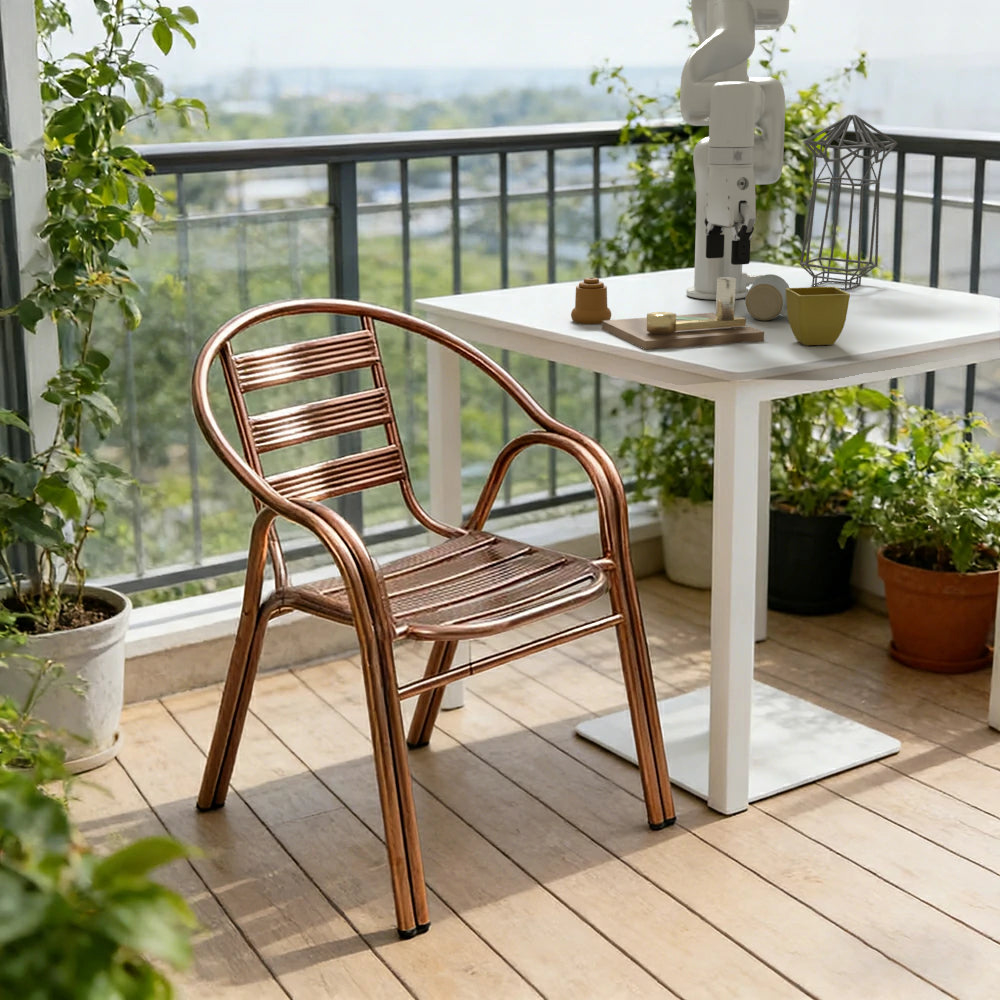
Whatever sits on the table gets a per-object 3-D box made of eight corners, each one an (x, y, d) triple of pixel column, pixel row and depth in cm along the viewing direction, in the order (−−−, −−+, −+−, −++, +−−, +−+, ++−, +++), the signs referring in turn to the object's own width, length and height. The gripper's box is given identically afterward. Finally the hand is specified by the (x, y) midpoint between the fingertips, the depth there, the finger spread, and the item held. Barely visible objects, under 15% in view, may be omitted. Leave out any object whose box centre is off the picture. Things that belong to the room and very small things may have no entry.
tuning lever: (653, 334, 240) (654, 286, 237) (642, 329, 244) (642, 281, 242) (749, 327, 245) (751, 279, 242) (736, 322, 249) (738, 275, 247)
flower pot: (782, 339, 245) (784, 287, 242) (831, 337, 246) (834, 285, 243) (796, 349, 237) (799, 295, 234) (847, 347, 237) (851, 294, 234)
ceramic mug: (742, 321, 261) (744, 279, 259) (749, 313, 269) (751, 273, 266) (800, 324, 258) (803, 282, 256) (806, 317, 265) (809, 276, 263)
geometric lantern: (817, 278, 308) (831, 112, 297) (887, 286, 299) (903, 115, 289) (786, 287, 296) (799, 114, 285) (858, 295, 287) (874, 117, 276)
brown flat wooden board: (712, 320, 262) (713, 312, 261) (763, 340, 244) (764, 331, 243) (601, 328, 256) (601, 320, 255) (645, 349, 237) (645, 340, 237)
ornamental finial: (588, 326, 258) (562, 321, 264) (619, 321, 262) (593, 316, 268) (588, 283, 256) (562, 278, 262) (620, 278, 260) (593, 274, 266)
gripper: (775, 160, 231) (771, 265, 235) (728, 155, 246) (724, 254, 251) (733, 161, 228) (730, 267, 233) (688, 156, 244) (685, 256, 249)
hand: (727, 261), depth 242 cm, fingers open, 9 cm apart
